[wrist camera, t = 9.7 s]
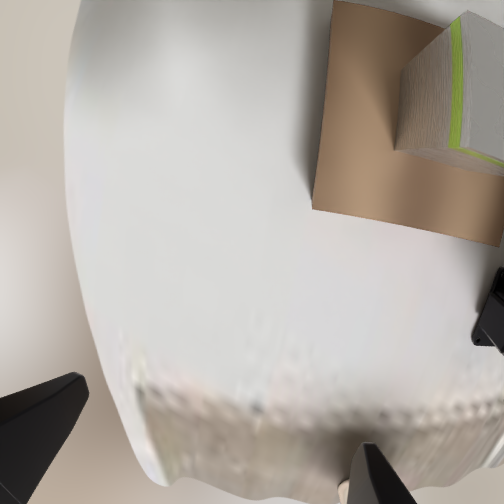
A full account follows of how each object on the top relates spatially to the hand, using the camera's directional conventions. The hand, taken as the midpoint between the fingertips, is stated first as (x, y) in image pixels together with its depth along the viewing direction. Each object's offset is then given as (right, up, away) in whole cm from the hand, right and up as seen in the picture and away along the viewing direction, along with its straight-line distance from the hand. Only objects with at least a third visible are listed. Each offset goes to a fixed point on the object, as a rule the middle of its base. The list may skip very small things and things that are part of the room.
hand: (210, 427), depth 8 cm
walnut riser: (+11, +13, +8) cm, 19 cm away
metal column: (+11, +12, +5) cm, 17 cm away
